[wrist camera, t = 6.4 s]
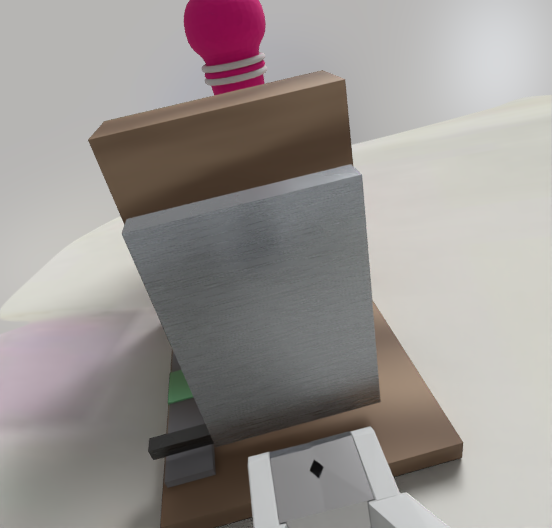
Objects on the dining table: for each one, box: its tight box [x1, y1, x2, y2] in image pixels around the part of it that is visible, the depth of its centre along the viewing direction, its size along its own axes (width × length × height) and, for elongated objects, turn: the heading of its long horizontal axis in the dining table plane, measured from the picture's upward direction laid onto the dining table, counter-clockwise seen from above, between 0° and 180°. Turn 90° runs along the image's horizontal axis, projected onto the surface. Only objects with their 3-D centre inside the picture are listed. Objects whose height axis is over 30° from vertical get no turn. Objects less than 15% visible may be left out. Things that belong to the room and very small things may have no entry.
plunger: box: [122, 164, 381, 460], centre depth 19 cm, size 12×10×10 cm
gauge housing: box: [88, 70, 463, 528], centre depth 19 cm, size 15×12×13 cm
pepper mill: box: [184, 0, 267, 96], centre depth 34 cm, size 7×7×20 cm
